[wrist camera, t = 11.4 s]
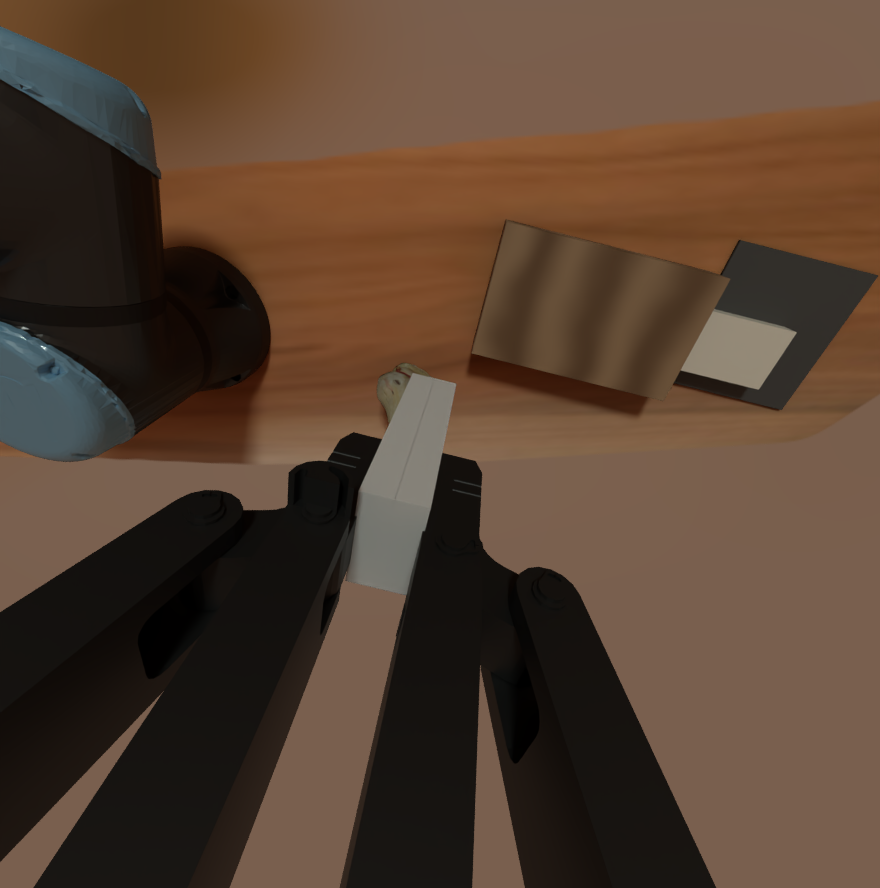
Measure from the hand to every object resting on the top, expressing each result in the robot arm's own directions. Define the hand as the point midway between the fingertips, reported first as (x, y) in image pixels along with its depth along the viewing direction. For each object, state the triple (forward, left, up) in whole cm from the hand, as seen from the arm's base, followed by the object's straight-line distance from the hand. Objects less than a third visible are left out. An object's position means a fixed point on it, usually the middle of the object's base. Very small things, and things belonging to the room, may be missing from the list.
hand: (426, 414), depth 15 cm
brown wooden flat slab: (+12, -1, -32) cm, 35 cm away
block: (+27, -1, -32) cm, 42 cm away
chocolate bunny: (-3, -14, -33) cm, 36 cm away
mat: (+30, +1, -32) cm, 44 cm away
